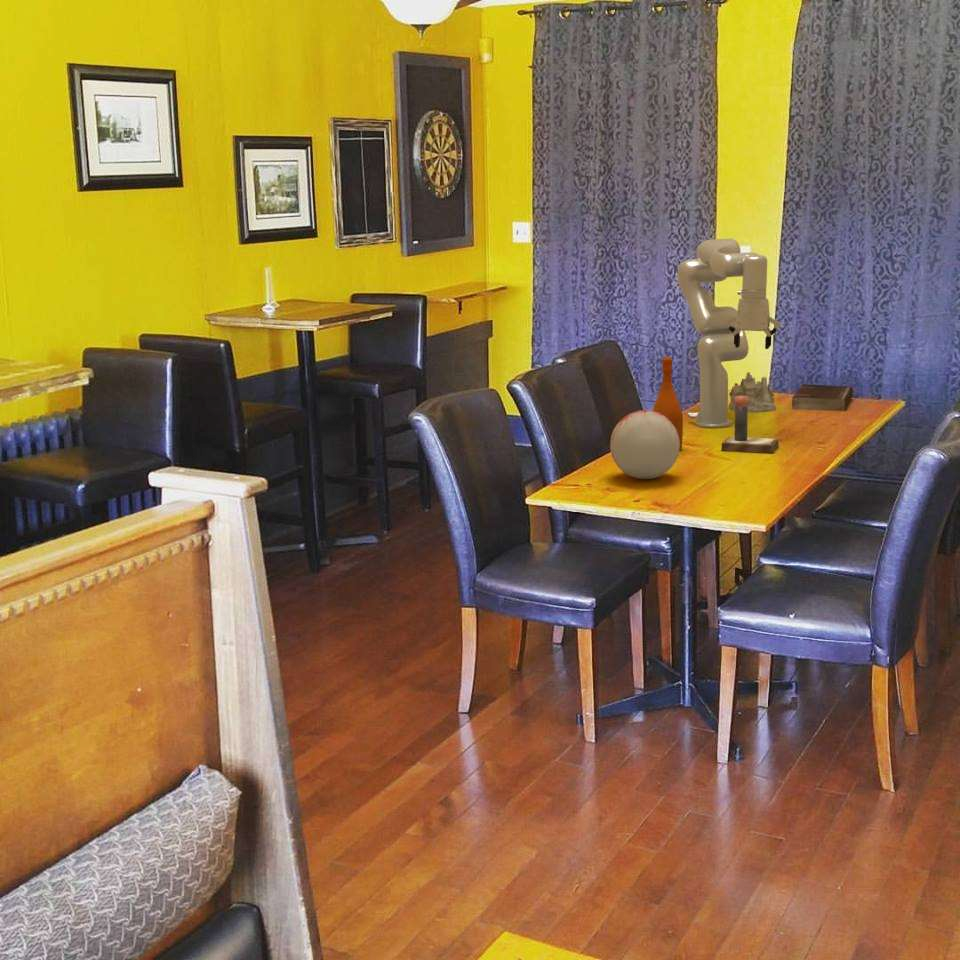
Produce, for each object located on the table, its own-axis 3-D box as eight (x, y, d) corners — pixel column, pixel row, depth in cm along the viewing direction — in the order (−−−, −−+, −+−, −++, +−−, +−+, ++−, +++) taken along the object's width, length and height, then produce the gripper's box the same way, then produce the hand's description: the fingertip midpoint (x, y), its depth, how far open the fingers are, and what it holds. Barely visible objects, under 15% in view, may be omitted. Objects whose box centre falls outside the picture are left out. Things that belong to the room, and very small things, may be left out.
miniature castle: (779, 411, 449) (778, 370, 447) (735, 414, 449) (733, 374, 446) (767, 406, 465) (766, 366, 462) (724, 409, 464) (723, 370, 462)
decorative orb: (608, 471, 368) (607, 405, 363) (675, 469, 367) (675, 403, 363) (613, 488, 348) (612, 419, 343) (684, 486, 347) (684, 417, 342)
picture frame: (721, 450, 389) (721, 442, 389) (728, 444, 398) (728, 436, 398) (772, 453, 383) (772, 445, 382) (778, 447, 392) (778, 438, 391)
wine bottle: (686, 447, 396) (686, 355, 389) (677, 453, 387) (678, 359, 380) (656, 445, 400) (656, 354, 393) (647, 452, 392) (647, 358, 384)
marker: (733, 440, 390) (733, 397, 387) (735, 438, 394) (736, 395, 390) (745, 441, 389) (746, 398, 385) (748, 438, 392) (749, 395, 389)
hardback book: (844, 412, 446) (845, 398, 445) (792, 410, 453) (792, 397, 452) (852, 398, 472) (853, 385, 471) (802, 396, 479) (803, 384, 478)
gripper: (724, 295, 392) (722, 348, 396) (778, 296, 385) (776, 350, 389) (730, 292, 398) (728, 344, 403) (783, 293, 391) (781, 347, 396)
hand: (752, 347), depth 396 cm, fingers open, 9 cm apart
